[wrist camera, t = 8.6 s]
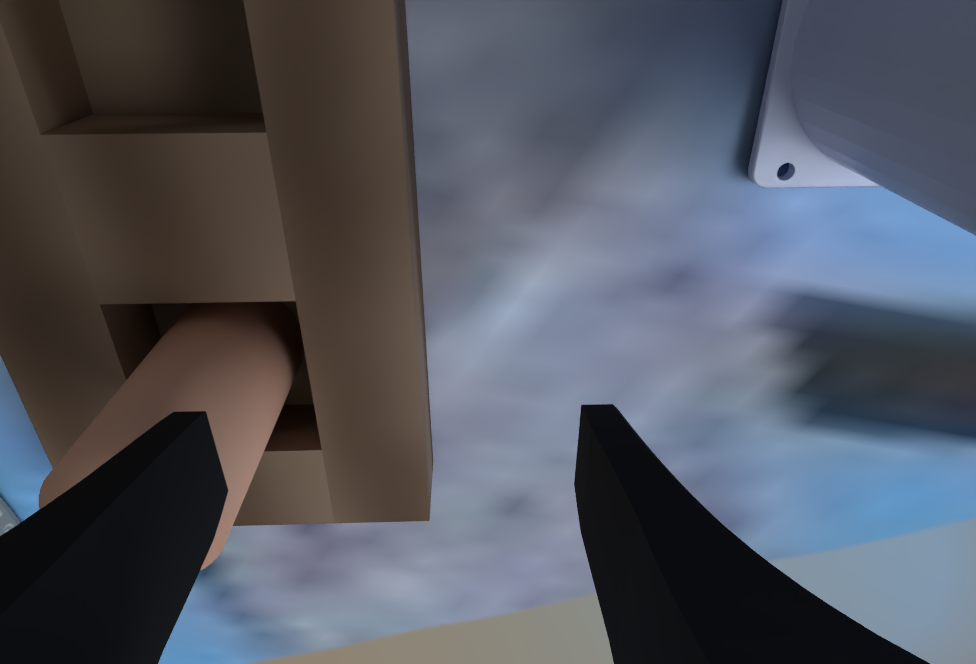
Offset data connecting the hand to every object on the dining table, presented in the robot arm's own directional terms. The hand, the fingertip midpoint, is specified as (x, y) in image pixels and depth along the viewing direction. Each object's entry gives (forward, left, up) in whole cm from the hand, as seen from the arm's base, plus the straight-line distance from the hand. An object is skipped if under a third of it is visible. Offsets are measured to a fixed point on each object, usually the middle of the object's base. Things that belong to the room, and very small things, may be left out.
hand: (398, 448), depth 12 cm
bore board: (+6, -2, -9) cm, 11 cm away
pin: (+6, +3, -9) cm, 11 cm away
